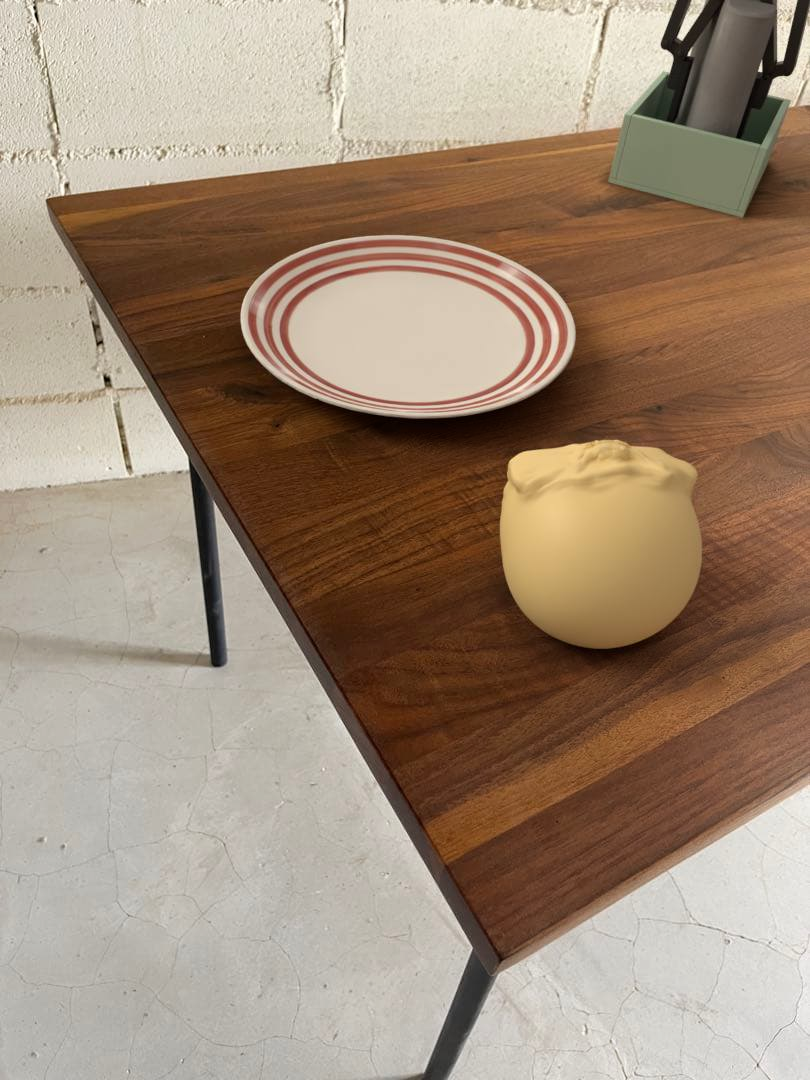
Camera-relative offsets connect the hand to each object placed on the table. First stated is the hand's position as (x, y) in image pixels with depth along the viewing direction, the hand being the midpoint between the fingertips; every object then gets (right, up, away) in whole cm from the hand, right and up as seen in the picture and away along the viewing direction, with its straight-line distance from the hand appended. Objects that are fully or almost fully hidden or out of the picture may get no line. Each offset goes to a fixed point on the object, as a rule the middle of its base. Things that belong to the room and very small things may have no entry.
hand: (704, 127), depth 102 cm
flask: (0, -3, +3) cm, 4 cm away
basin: (0, -4, +4) cm, 5 cm away
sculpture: (-24, -51, -46) cm, 73 cm away
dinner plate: (-35, -31, -27) cm, 54 cm away
